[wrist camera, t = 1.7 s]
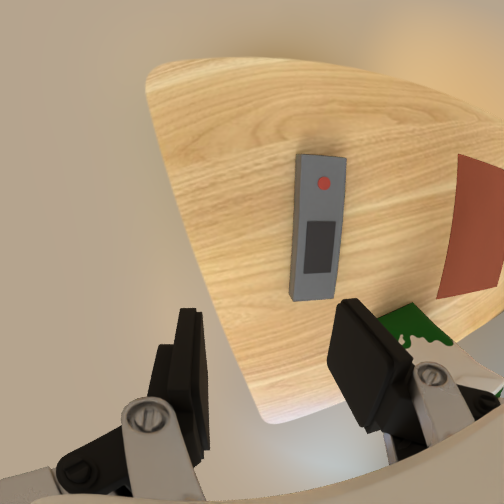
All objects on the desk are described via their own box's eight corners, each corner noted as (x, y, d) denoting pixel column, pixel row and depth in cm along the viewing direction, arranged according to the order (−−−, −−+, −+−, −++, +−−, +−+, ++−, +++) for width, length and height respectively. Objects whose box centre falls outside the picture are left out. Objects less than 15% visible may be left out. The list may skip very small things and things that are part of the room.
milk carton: (414, 342, 35) (495, 431, 16) (362, 367, 34) (433, 478, 16) (417, 293, 32) (524, 383, 13) (359, 319, 32) (458, 441, 13)
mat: (457, 153, 27) (458, 153, 27) (515, 174, 29) (515, 174, 29) (435, 298, 33) (436, 299, 33) (496, 286, 35) (496, 286, 35)
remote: (295, 154, 25) (301, 153, 23) (338, 157, 25) (347, 157, 23) (288, 293, 29) (293, 302, 27) (327, 291, 30) (334, 299, 28)
